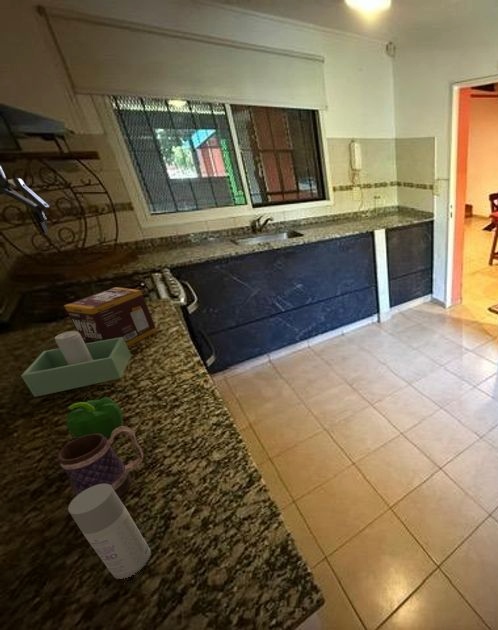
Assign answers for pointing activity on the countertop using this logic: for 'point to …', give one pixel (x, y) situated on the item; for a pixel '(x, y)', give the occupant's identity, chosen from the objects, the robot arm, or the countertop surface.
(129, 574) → the container
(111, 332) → the supplement box
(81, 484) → the mug
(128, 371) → the countertop surface
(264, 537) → the countertop surface
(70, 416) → the bell pepper
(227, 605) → the countertop surface
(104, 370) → the basin
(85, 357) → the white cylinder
